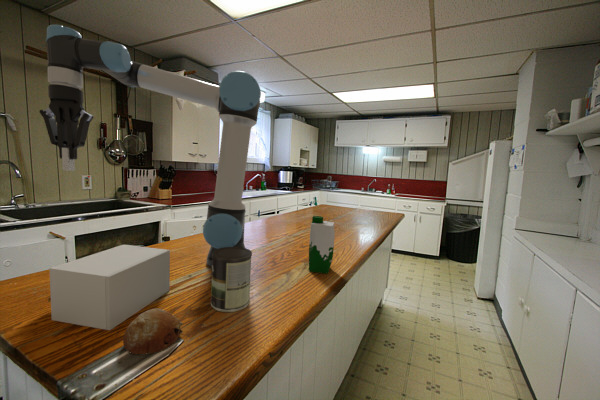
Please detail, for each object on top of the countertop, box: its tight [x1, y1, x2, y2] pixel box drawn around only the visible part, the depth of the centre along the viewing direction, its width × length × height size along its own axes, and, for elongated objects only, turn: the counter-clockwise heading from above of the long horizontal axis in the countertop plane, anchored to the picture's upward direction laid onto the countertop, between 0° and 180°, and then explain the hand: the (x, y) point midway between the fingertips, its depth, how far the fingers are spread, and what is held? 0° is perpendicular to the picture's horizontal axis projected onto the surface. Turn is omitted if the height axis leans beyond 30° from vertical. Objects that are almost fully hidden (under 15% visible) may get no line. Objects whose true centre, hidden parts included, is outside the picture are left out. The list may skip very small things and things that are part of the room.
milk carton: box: [308, 215, 335, 275], centre depth 100 cm, size 9×9×20 cm
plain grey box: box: [49, 244, 171, 331], centre depth 68 cm, size 15×20×12 cm
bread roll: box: [122, 308, 183, 355], centre depth 55 cm, size 10×10×8 cm
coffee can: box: [210, 247, 253, 313], centre depth 72 cm, size 10×10×14 cm
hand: (68, 170), depth 79 cm, fingers closed
